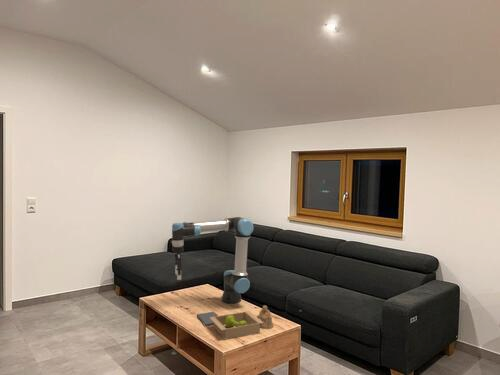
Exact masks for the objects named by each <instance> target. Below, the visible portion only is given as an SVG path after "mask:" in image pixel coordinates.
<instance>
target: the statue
mask: <svg viewBox="0 0 500 375" xmlns="http://www.w3.org/2000/svg"><path fill="white" fill-rule="evenodd" d="M256 317H257V318H258V319H260V320H261V321H262V322H263V323H261V324H260V329H265V330H270V329H273V328H274V327H275V326H274V322H273V319H272V318H273V317H272V314H271V312H270V310H269V309H268V306H267V305H265V304H264V305H262V309H261V310H260V311H259V314H258V315H256Z"/></svg>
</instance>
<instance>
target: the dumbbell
mask: <svg viewBox="0 0 500 375" xmlns="http://www.w3.org/2000/svg"><path fill="white" fill-rule="evenodd" d="M227 315H228V314H227ZM224 323H225V325H224V326H225V328H226V327H227V328H233V327H239V326H244V325H249V324H248V323H247V322H246V321H240V322H237V321H235V318H234V316H233V315H228V316H226V318H225V321H224Z"/></svg>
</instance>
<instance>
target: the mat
mask: <svg viewBox="0 0 500 375" xmlns="http://www.w3.org/2000/svg"><path fill="white" fill-rule="evenodd" d="M216 316H218V315H217V313H216V312H214V311H210V312H203V313H197V314H196V318H198V319H199V320H200V322H201V323H202V324H203V325H204V327H210V326H212V327H213V321H212V320H211V319H210V317H216Z"/></svg>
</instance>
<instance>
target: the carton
mask: <svg viewBox="0 0 500 375" xmlns="http://www.w3.org/2000/svg"><path fill="white" fill-rule="evenodd" d="M228 315H233V316H234V318H235V321H237V322H240V321H246V322H247V324H248V325H244V326H239V327H235V326H232V327H227V328H226V325H225V323H224V321H225V318H226V316H228ZM210 319H211V320H212V321H213V325H212V327H213V328H215V330H217V332H218V333H219V334H220V335H221V336H222V337H223V338H224V339H225V340H230V339H234V338H240V337H245V336H251V335H256V334H260V333H261V328H260V324H261V323H263V322H262V321H261V320H260V319H258V318H257V315H255V314H253V313H252V312H251V311H248V310H246V311H241V312H235V313H227V314H222V315H217V316H216V317H210Z"/></svg>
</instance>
